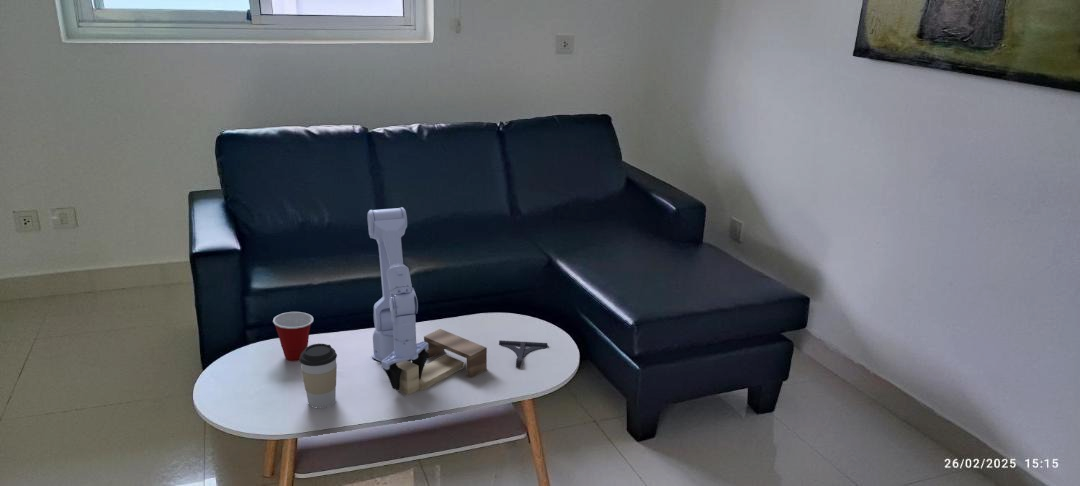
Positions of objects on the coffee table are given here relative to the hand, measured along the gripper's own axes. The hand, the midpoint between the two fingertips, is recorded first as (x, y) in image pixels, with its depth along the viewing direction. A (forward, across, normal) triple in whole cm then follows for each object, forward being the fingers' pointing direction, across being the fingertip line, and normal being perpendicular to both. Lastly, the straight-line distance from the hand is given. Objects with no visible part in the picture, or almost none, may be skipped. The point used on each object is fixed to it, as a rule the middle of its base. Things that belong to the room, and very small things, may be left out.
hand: (406, 383), depth 195 cm
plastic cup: (+2, -8, +37) cm, 38 cm away
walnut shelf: (+2, +18, 0) cm, 18 cm away
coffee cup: (+2, -18, +12) cm, 22 cm away
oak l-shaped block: (+2, +8, 0) cm, 8 cm away
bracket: (+3, +34, -11) cm, 36 cm away
